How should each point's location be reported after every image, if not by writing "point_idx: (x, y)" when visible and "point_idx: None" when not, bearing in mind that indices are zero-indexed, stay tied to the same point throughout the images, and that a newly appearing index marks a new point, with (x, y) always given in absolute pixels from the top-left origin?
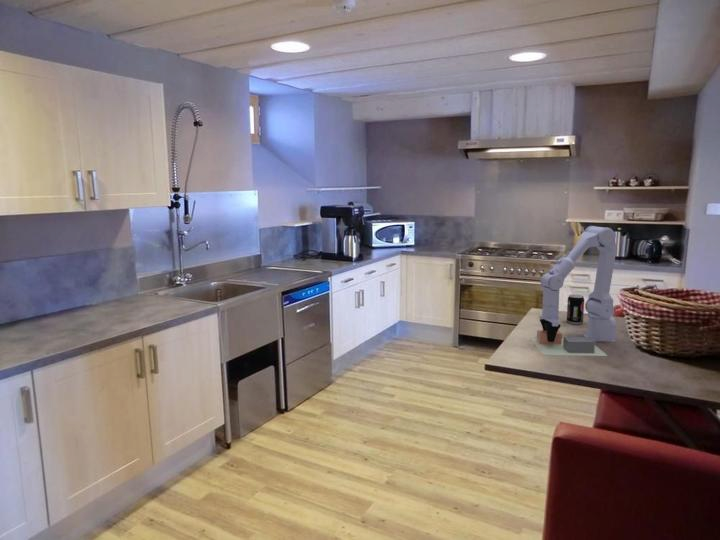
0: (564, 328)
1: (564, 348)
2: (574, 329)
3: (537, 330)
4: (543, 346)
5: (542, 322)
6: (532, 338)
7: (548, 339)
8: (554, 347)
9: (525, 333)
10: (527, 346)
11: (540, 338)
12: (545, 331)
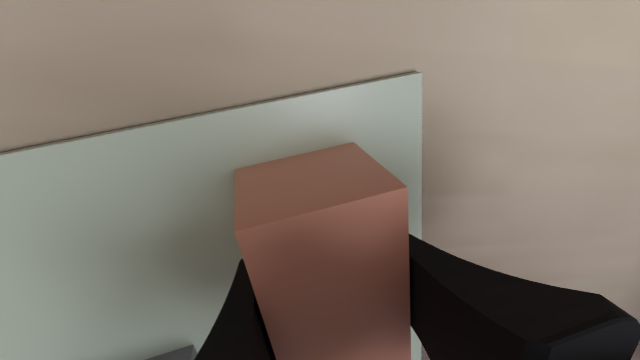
0: (618, 295)
1: (153, 358)
2: None
3: (403, 190)
4: (146, 206)
5: (498, 339)
6: (411, 101)
7: (235, 277)
8: (154, 294)
9: (588, 41)
10: (114, 19)
11: (236, 202)
12: (365, 282)
